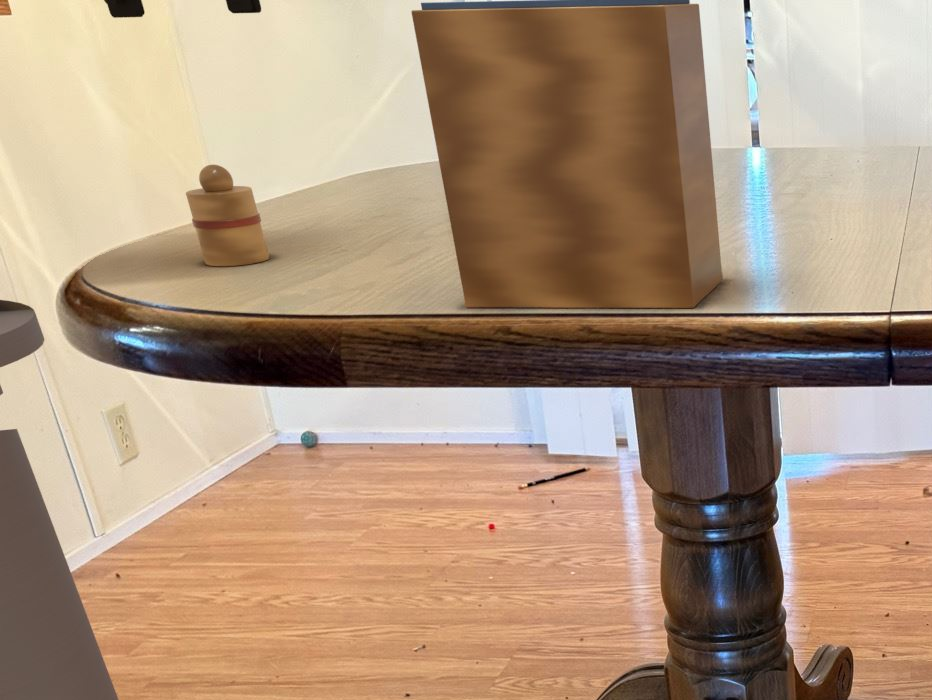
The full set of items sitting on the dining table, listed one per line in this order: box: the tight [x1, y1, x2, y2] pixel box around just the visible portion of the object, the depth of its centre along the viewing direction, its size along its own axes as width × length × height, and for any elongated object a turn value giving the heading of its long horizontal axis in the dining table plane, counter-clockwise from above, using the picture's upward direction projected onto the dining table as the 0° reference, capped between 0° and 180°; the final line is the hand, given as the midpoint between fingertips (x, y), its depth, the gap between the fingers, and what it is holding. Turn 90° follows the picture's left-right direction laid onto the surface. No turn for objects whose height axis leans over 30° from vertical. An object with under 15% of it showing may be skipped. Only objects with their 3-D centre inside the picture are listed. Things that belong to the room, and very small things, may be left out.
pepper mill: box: [185, 164, 270, 267], centre depth 100 cm, size 5×5×7 cm
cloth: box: [420, 0, 691, 10], centre depth 79 cm, size 15×8×1 cm, turn 85°
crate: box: [410, 3, 723, 309], centre depth 84 cm, size 16×9×18 cm, turn 85°
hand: (189, 14), depth 94 cm, fingers open, 9 cm apart
